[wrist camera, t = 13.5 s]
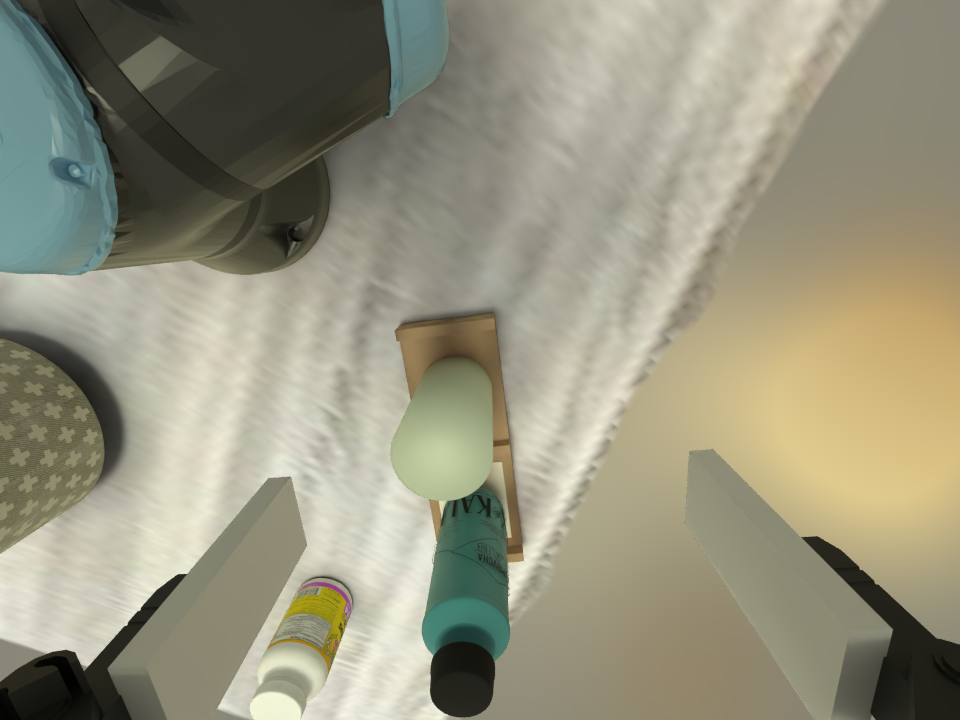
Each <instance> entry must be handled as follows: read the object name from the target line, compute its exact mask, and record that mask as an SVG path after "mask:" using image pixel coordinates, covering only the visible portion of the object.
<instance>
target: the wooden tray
mask: <svg viewBox="0 0 960 720" xmlns="http://www.w3.org/2000/svg"><path fill="white" fill-rule="evenodd" d="M395 334H396V340H397V341H400V344H401V349H402V355H403V360H404V366H405V371H406V377H407V382H408V387H409V393H410V398H411V399H412V397H413V395H414V393H415V391H416V389H417V386H418V384H419V382H420V380H421V378H422V376H423V374H424V372H425V370H426V369H427V368H428V367H429V366H430V365H431V364H432V363H433V362H435V361H436V360H438V359H440V358H443V357H446V356H452V355H458V356H464V357H468V358H470V359H473V360H474V361H476V362H478V363H479V364H480V365H481V366H482V367H483V368H484V369H485V370H486V372H487V373H488V375H489V377H490V380H491V383H492V400H493V463H492V468H491V471H490V473H489V475H488V477H487V479H486V480H485V482H484V483H483V484H482V485H481V486H480V487H479V488H482V489H486V490H488V491H490V492H492V493H493V494H494V495H495V496H496V497H497V498H498V499H499V500H500V501H501V504H503V505H502V506H503V508H504V512H505V518H506V519H507V520H506V521H507V522H506V521H505V524H506V525H507V526H506V531H507V535H508V549H507V545H506V551H507V559H508V560H507V563H508V562H519V561H524V557H523V547H522V538H521V530H520V522H519V514H518V506H517V497H516V489H515V481H514V473H513V465H512V457H511V448H510V440H509V432H508V424H507V416H506V408H505V399H504V391H503V383H502V375H501V367H500V358H499V350H498V342H497V334H496V326H495V318H494V313H489V314H481V315H473V316H465V317H457V318H449V319H441V320H433V321H425V322H417V323H409V324H401V325H400V326H399V327H398V328H397V329H396V330H395ZM429 501H430V507H431V512H432V517H433V523H434V528H435V534H436V539H437V541H438V535H439V532H438V530H439V531H440V526H441V522H440V520H441V519H442V515H443V510H444V507H445V504H446V503H447V502H446V501H436V500H431V499H429ZM442 508H443V509H442ZM505 510H506V511H505ZM440 517H441V518H440ZM438 528H439V529H438ZM437 533H438V534H437ZM506 541H507V540H506ZM506 543H507V542H506Z"/></svg>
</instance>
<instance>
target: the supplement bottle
mask: <svg viewBox="0 0 960 720" xmlns="http://www.w3.org/2000/svg"><path fill="white" fill-rule="evenodd" d="M351 610H352V598H351V595H350V593H349V591H348V590H347V589H346V588H345V587H344V586H343V585H342V584H341V583H339V582H337V581H334V580H332V579H327V578H316V579H312V580H310V581H308V582H306V583H304V584H303V585H302V586H301V587H300V588H299V590H298V591H297V593H296V595H295V597H294V599H293V600H292V602H291V604H290V606H289V608H288V610H287V612H286V614H285V615H284V617H283V619H282V621H281V623H280V625H279V627H278V629H277V631H276V633H275V634H274V636H273V638H272V640H271V642H270V644H269V646H268V647H267V649H266V651H265V653H264V655H263V657H262V659H261V660H260V663H259V666H258V671H257V678H258V682H259V685H260V686H259V687H258V689H257V690H256V692H255V695H254V697H253V699H252V701H251V704H250V713H251V715H252V717H253V718H254V720H300V719H301V717H302V714H303V712H304V710H305V707H306V702H307V701H309V700H311V699H312V698H314V697H315V696H316V695H317V694H318V693H319V692H320V691H321V690H322V688H323V686H324V684H325V682H326V679H327V677H328V674H329V671H330V669H331V666H332V663H333V660H334V658H335V655H336V652H337V649H338V647H339V644H340V641H341V638H342V636H343V633H344V630H345V627H346V625H347V622H348V619H349V616H350V613H351Z"/></svg>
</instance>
